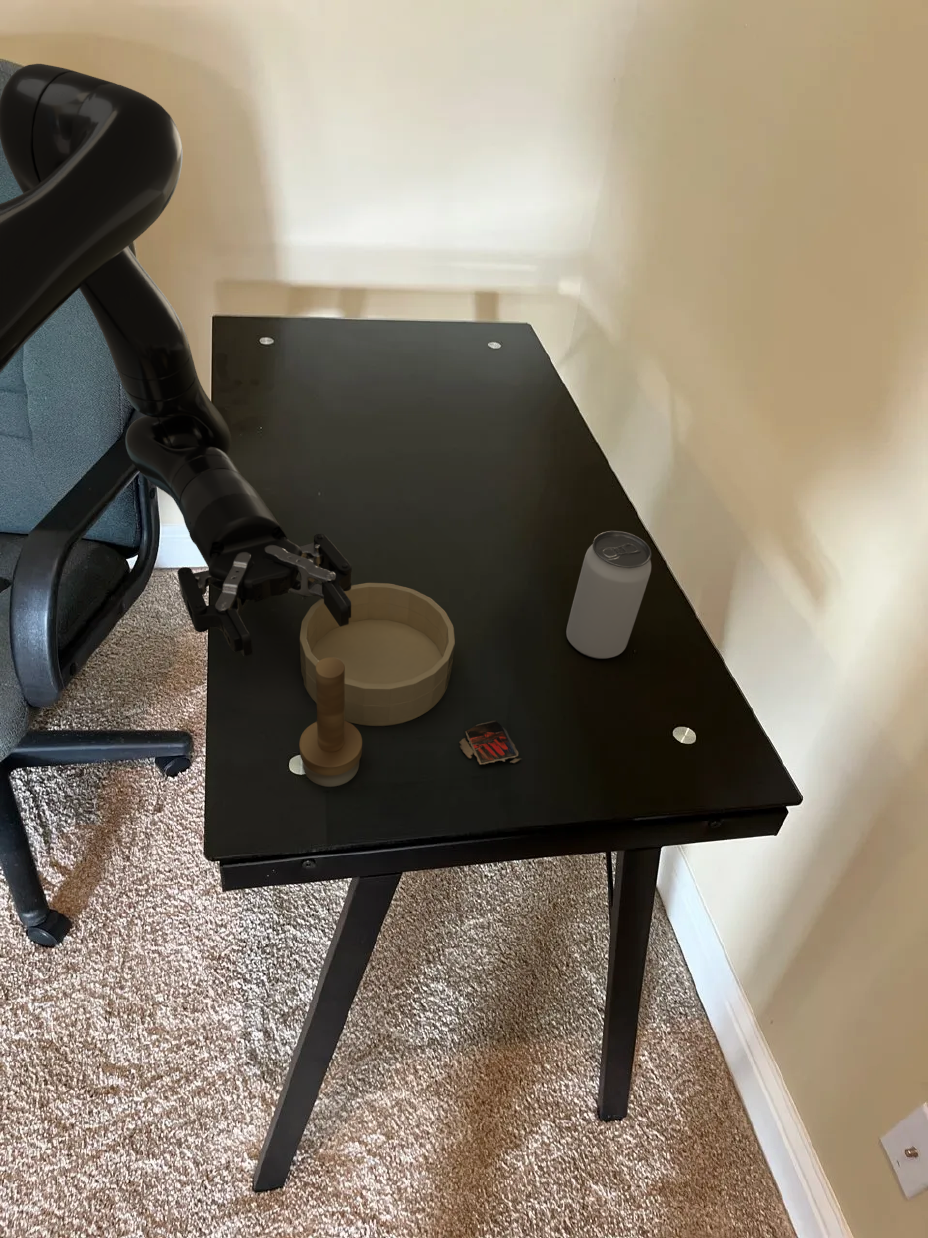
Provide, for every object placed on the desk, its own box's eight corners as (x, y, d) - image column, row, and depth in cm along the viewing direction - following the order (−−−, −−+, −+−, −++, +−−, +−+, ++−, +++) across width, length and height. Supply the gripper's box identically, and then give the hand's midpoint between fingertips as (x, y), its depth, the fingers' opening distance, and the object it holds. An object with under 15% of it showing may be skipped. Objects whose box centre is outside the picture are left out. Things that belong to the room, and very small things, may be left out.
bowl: (277, 703, 76) (274, 664, 72) (334, 606, 86) (333, 569, 83) (426, 743, 74) (430, 705, 70) (465, 639, 84) (470, 603, 81)
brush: (290, 779, 70) (284, 681, 61) (314, 734, 73) (311, 636, 65) (349, 795, 69) (350, 699, 61) (369, 749, 73) (373, 652, 65)
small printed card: (493, 718, 77) (494, 715, 76) (527, 757, 74) (527, 753, 73) (451, 738, 74) (452, 735, 74) (485, 778, 71) (485, 775, 71)
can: (554, 625, 87) (576, 534, 79) (605, 613, 90) (632, 523, 82) (584, 667, 83) (611, 575, 75) (638, 653, 85) (669, 562, 77)
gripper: (148, 509, 72) (208, 623, 63) (301, 476, 79) (377, 575, 69) (161, 575, 77) (217, 690, 68) (303, 539, 84) (374, 640, 74)
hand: (298, 632), depth 68 cm, fingers open, 8 cm apart
